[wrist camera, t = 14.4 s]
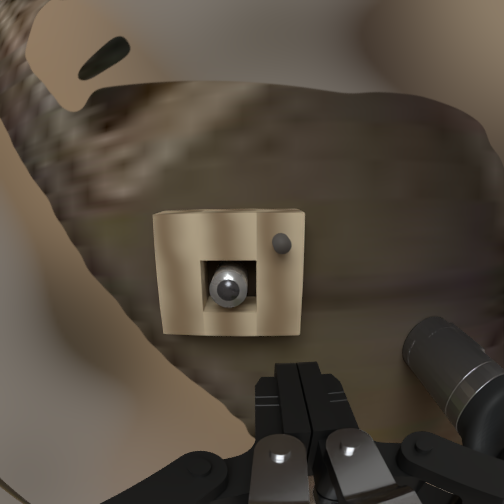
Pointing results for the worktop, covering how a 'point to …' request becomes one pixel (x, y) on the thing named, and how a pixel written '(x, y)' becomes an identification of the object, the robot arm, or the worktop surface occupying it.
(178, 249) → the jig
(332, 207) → the worktop surface
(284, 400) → the robot arm
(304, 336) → the worktop surface
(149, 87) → the worktop surface
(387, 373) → the worktop surface
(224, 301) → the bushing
